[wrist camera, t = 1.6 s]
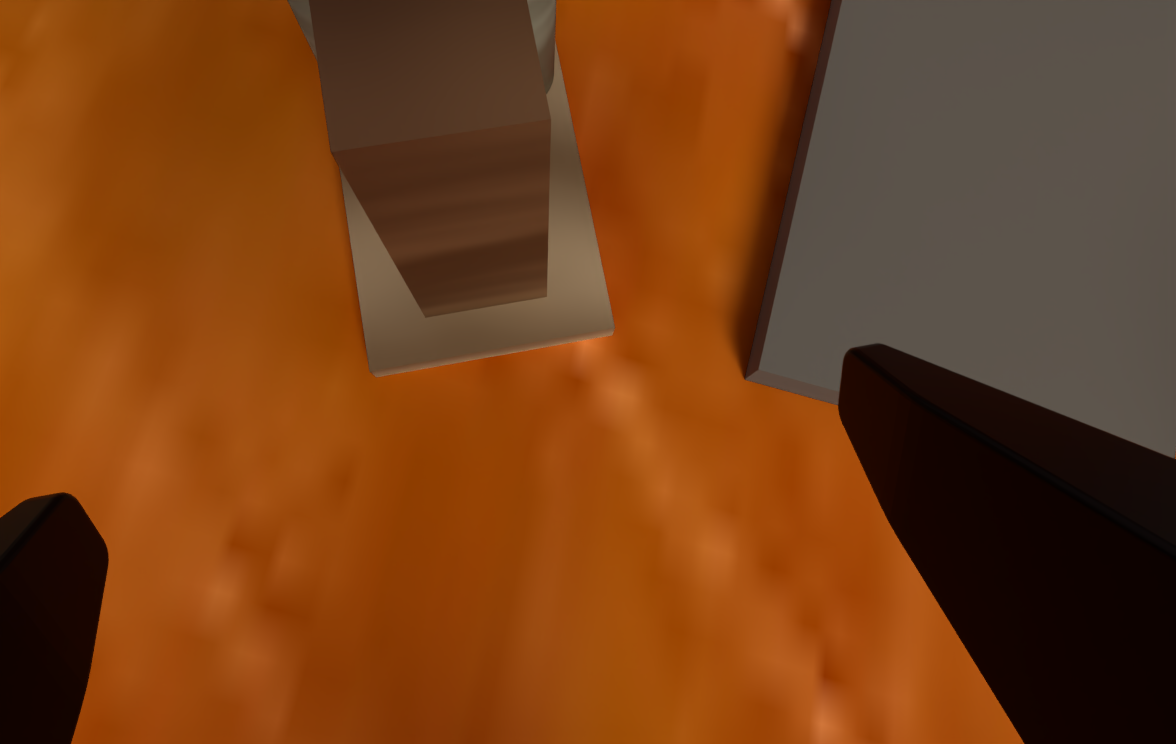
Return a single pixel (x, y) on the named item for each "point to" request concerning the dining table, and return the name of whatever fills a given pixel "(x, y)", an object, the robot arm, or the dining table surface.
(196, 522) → the dining table surface
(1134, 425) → the grey tray
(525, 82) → the condiment caddy
